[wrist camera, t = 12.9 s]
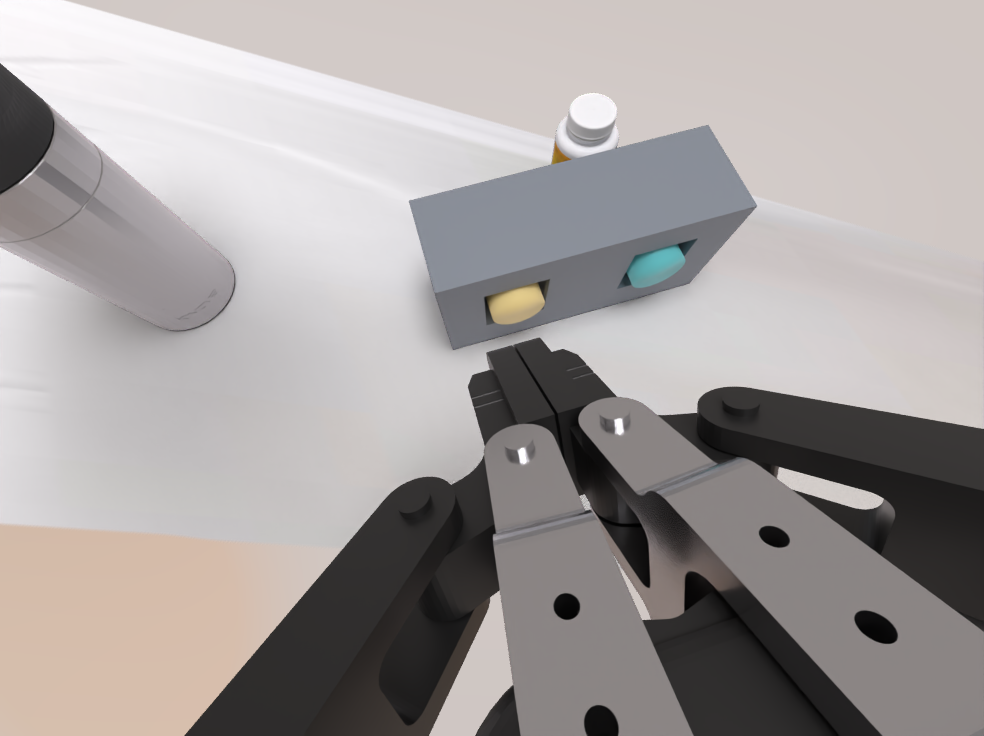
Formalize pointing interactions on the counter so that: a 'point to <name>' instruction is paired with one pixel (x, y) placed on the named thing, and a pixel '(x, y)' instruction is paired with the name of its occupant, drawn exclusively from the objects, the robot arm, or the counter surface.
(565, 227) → the console
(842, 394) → the counter surface
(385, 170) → the counter surface
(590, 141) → the supplement bottle
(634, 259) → the teal button
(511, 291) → the mustard button
